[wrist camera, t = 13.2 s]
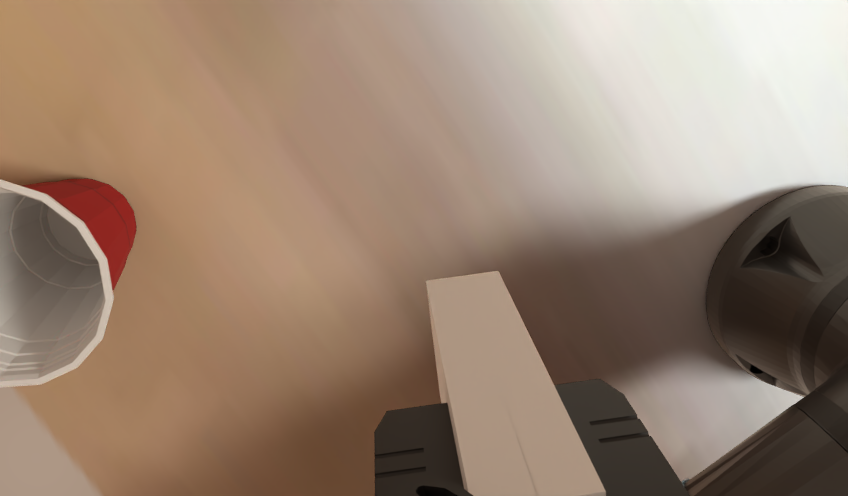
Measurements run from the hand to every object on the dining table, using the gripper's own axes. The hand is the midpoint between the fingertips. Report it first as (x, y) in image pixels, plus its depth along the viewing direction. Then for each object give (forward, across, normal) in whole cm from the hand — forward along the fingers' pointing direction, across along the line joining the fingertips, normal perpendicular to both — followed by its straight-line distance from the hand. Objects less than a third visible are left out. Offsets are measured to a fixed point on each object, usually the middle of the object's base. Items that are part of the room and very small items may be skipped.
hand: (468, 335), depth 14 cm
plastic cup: (+31, -21, -4) cm, 37 cm away
